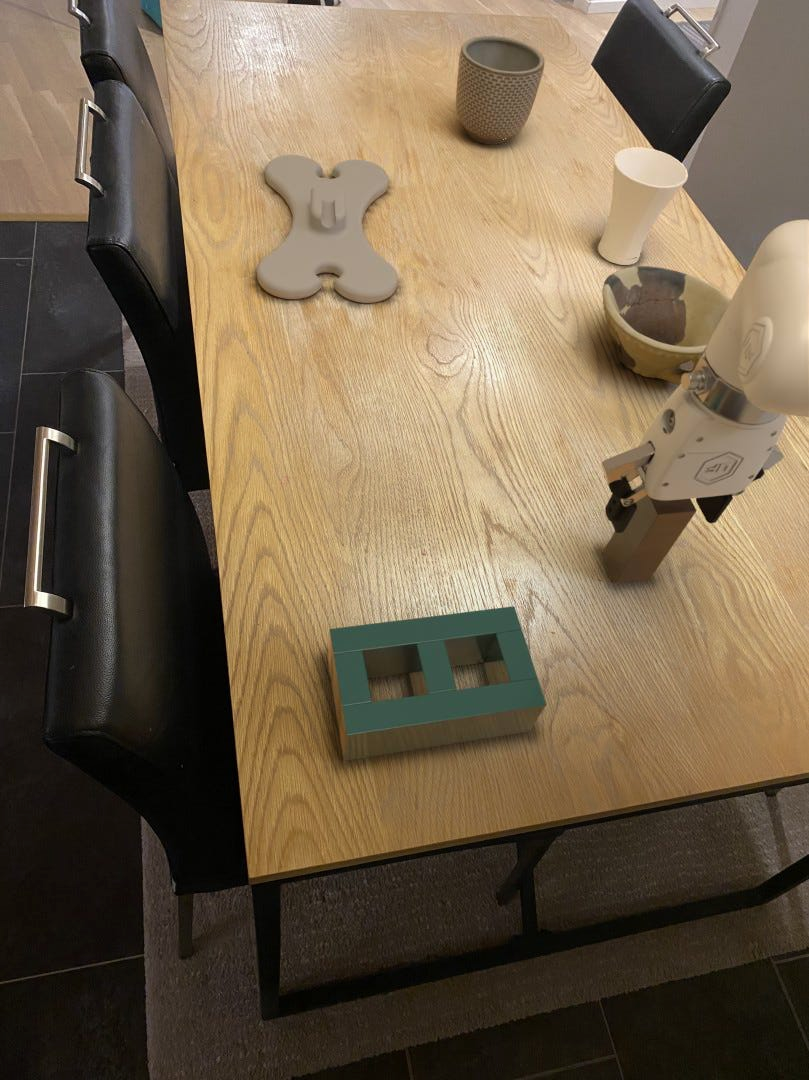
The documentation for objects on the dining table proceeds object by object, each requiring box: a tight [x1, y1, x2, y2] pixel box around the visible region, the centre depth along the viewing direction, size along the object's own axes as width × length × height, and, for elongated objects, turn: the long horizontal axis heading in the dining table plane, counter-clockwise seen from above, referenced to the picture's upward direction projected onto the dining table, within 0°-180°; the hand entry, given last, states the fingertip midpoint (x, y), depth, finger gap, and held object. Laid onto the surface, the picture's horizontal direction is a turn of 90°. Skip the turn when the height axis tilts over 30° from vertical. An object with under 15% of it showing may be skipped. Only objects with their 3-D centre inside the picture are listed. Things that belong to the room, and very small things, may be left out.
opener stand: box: [327, 605, 547, 762], centre depth 68 cm, size 10×17×6 cm, turn 101°
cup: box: [597, 146, 689, 266], centre depth 111 cm, size 10×10×14 cm
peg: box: [602, 482, 697, 585], centre depth 76 cm, size 4×4×12 cm
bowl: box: [601, 265, 732, 385], centre depth 98 cm, size 18×18×10 cm
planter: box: [455, 35, 545, 146], centre depth 128 cm, size 14×14×13 cm
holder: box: [256, 154, 399, 304], centre depth 109 cm, size 19×34×5 cm, turn 4°
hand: (659, 516), depth 73 cm, fingers open, 9 cm apart
